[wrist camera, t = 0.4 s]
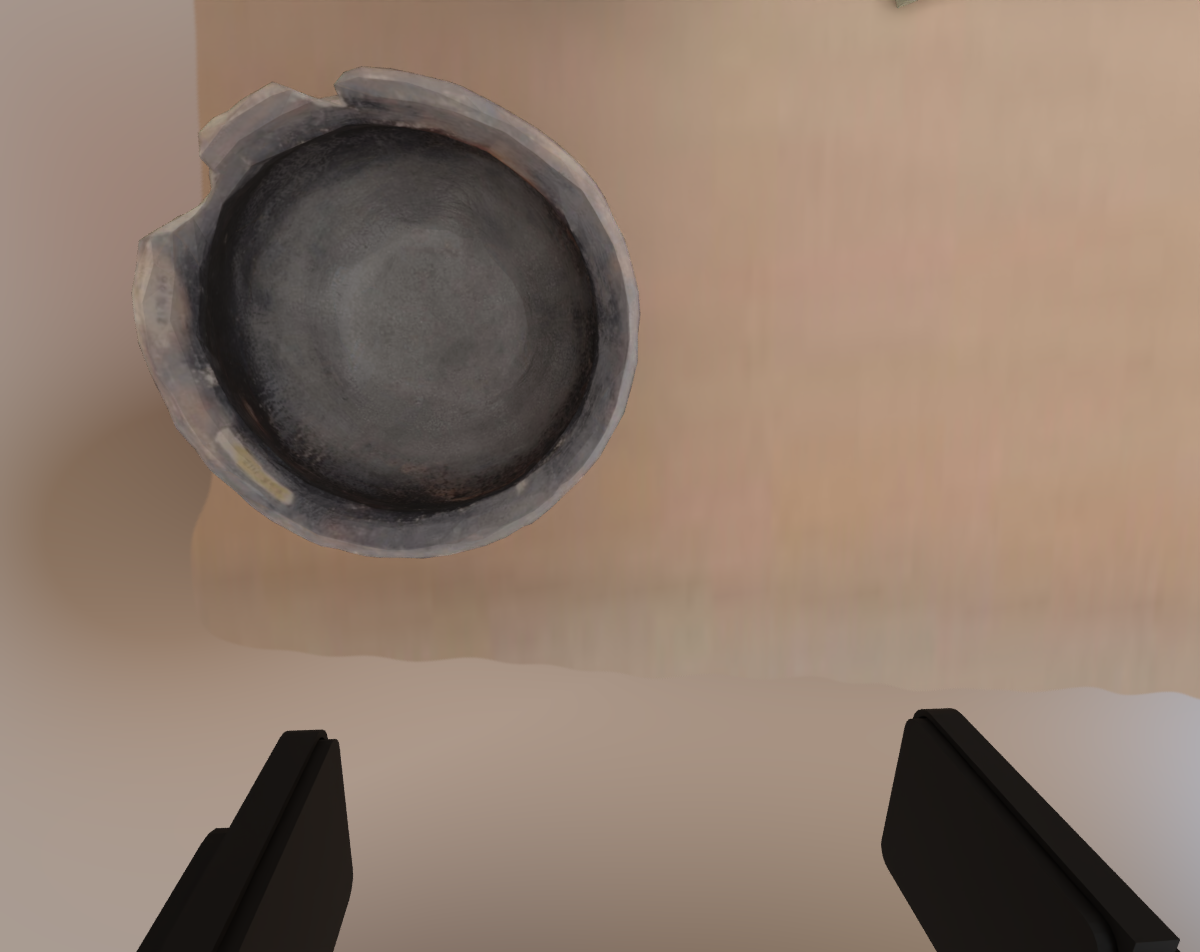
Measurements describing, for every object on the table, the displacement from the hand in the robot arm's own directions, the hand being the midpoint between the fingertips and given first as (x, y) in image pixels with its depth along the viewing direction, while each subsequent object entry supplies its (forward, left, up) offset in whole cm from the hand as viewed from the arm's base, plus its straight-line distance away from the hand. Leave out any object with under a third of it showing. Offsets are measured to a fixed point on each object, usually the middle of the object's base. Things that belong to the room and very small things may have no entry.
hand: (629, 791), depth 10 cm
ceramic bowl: (-9, -4, -37) cm, 38 cm away
